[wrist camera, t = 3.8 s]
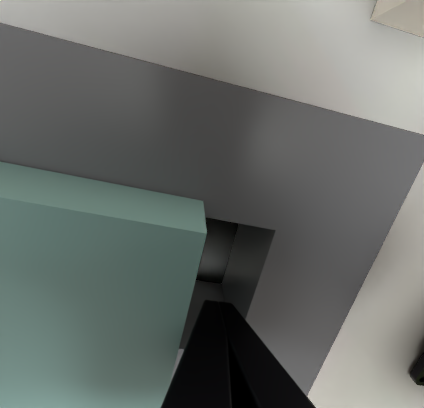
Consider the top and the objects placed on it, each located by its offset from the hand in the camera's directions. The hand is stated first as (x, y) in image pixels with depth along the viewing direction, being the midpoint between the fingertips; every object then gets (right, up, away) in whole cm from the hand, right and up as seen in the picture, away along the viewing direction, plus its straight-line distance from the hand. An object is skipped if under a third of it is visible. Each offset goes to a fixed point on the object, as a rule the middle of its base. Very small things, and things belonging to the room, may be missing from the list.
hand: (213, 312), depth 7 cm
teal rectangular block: (-4, +1, 0) cm, 4 cm away
